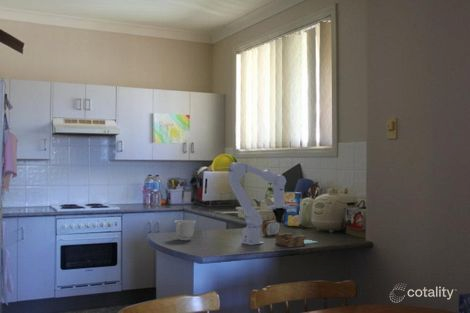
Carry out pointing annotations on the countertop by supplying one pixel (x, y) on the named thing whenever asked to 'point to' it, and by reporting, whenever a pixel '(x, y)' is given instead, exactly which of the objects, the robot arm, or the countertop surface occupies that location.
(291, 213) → the beverage box
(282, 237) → the box
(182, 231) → the teacup
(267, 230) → the tin
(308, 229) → the countertop surface
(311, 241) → the cover plate
